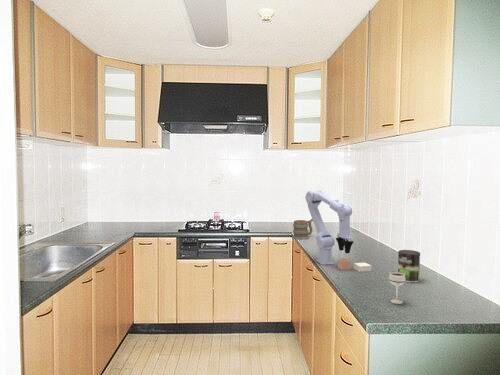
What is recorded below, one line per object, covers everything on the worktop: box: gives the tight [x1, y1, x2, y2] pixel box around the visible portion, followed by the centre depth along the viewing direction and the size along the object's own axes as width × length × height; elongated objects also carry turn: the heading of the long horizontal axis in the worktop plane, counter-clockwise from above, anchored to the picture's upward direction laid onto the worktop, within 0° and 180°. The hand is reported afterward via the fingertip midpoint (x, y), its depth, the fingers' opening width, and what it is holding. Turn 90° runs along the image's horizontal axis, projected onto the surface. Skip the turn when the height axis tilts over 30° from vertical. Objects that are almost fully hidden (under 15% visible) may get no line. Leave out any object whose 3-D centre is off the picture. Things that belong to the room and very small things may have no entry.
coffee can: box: [397, 249, 421, 284], centre depth 189 cm, size 10×10×14 cm
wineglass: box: [388, 270, 406, 305], centre depth 158 cm, size 7×7×12 cm
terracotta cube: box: [337, 258, 351, 271], centre depth 211 cm, size 5×5×5 cm
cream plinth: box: [353, 262, 372, 273], centre depth 208 cm, size 7×7×3 cm
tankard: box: [291, 218, 313, 241], centre depth 304 cm, size 20×13×15 cm, turn 114°
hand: (344, 251), depth 211 cm, fingers open, 7 cm apart
